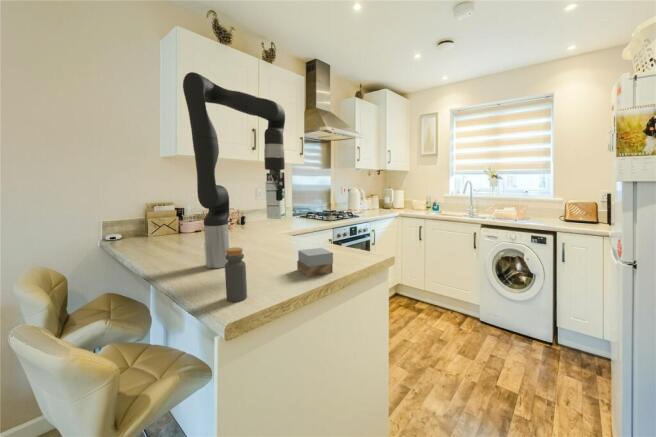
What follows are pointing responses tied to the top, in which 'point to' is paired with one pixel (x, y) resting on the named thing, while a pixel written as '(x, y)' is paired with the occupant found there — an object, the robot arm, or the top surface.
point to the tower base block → (314, 269)
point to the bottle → (235, 275)
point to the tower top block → (315, 257)
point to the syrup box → (274, 202)
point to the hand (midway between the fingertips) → (275, 199)
